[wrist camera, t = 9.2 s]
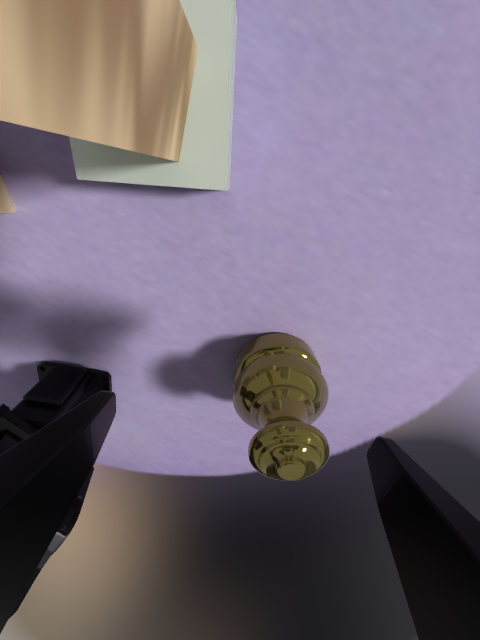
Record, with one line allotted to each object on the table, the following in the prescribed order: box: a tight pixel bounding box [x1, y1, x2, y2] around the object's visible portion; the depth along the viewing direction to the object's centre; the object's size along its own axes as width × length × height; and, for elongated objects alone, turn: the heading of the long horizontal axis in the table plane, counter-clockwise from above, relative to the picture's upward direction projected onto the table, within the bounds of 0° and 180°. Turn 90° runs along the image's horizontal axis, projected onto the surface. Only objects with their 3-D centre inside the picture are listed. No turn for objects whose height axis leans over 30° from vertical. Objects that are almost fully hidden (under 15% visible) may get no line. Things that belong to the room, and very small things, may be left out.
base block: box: [69, 0, 237, 191], centre depth 14 cm, size 8×8×4 cm
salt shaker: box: [232, 333, 329, 481], centre depth 20 cm, size 7×7×10 cm
